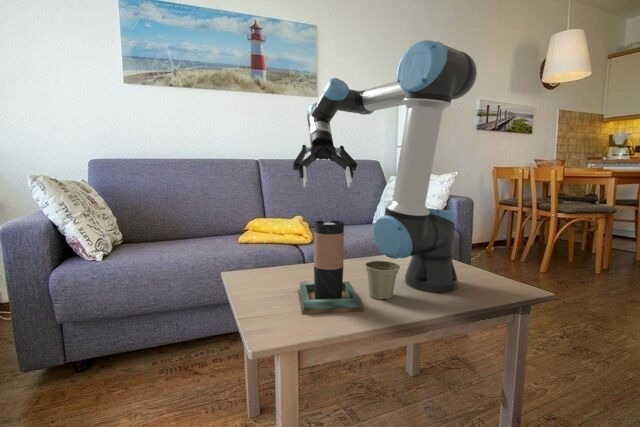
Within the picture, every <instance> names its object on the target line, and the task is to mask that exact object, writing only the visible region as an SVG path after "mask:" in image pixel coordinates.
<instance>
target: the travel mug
mask: <svg viewBox="0 0 640 427" xmlns="http://www.w3.org/2000/svg"><path fill="white" fill-rule="evenodd" d="M344 226H345V222H344V221H341V220H335V219H334V220H331V221H330V222H329V221H328V222H325V221H324V220H316V221H315V222H314V236H313V237H314V240H313V241H314V244H313V246H314V249H313V277H314V278H313V283H314V290H315V299H316V300H318V299H341V298H342V284H343V282H344V281H343V278H344V254H345V253H344V250H345V249H344V248H345V247H344V244H345V242H344V239H345V238H344V237H345V235H344V234H345V232H344V231H345V230H344V229H345V227H344Z"/></svg>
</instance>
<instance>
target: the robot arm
mask: <svg viewBox="0 0 640 427" xmlns="http://www.w3.org/2000/svg"><path fill="white" fill-rule="evenodd" d="M477 74H478V72H477V66H476V63H475V61H474V59H473V58H472V56H470V55H469V54H468V53H466V52H464V51H462V50H459V49H456V48H453V47H451V46H448V45H446V44H444V43H442V42H440V41H434V40H430V39H424V40H420V41H417V42H415V43H413V44H412V45H411V46H410V47H409V48H408V49H407V51H404V53H403V54H402V56H401V57H400V60H399V61H398V66H397V68H396V81H392V82H388V83H385V84H381V85H377V86H373V87H369V88H367V89H363V90H356V89H351V88H349V85H348V84H347V83H346V82H345V81H344V80H342V79H340V78H338V77H332V78H330V79H329V80H328V81H327V83H326V85H325V86H324V87H323V88H322V89H323V90H322V92H321V93H320V96H319V97H318V100H317V101H316V102H315V103H312V104H311V105H310V106H309V107H308V108H307V111H306V112H307V114H306V118H307V119H306V120H307V124H308V131H309V141H310V146H309V147H308V146H307V145H306V144H302V148H301V150H300V152H299V154H298V155H297V157H296V158H295V159H294V161H293V162H292V163H293V165H292V170H293V171H298V173H299V174H298V176H299V178H300V179H302V180H303V189H306V188H308V187H307V186H308V176H307V168H308V167H309V166H310V165H311V164H312V163H313V162H315V161H316V160H320V161H321V160H322V161H323V160H326V161H328V160H330V161H331V162H333V163H334V162H335V164H336V165H338V166H339V167H341V168H342V169H344V170H345V172H344V173H345V179H346V183H347V188H348V189H351V187H352V184H353V177H354V171H356V170H357V167H358V162H356V160H355V159H354V158H353V157H352V156H351V155H350V154H349V153H348V152H347V151H346V149H345V147H344V145H340V146H339V147H335V145H334V140H333V135H332V129H331V121H332V119H333V118H334V116H335V115H336V114H337V112H339V111H340V112H346V113H353V114H360V115H372V114H373V113H374V112H375V111H379V110H386V109H390V108H395V107H399V106H400V107H401V106H405V107H406V114H405V121H404V127H403V132H402V139H401V144H400V145H401V146H400V150H399V151H400V152H399V157H398V164H397V170H396V176H395V177H396V178H395V184H394V189H393V195H392V200H391V201H389V202H388V203H387V204H386V205H385V210H384V215H383V216H381V217H379V218H378V219H377V220H376V221H375V223H374V226H373V228H372V229H373V230H372V232H373V240H374V243H375V245H376V246H377V248H378V250H379V251H380V252H381V253H382V255H384V256H385V257H387V258H390V259H395V260H396V259H406V258H408V257H411V259H410V261H409V264H408V266H407V269H406V271H405V275H404V283H405V284H406V285H408V286H409V287H411V288H414V289H416V290H420V291H425V292H430V293H431V292H433V293H447V292H452V291H454V290H457V289H458V280H459V279H458V276H457V273H456V270H455V269H456V268H455V266H454V260H453V259H454V256H453V255H454V242H455V229H456V228H455V226H456V221H455V220H456V219H455V218H456V215H455V213H454V212H453V211H452V210H446V209H440V208H439V209H438V208H429V207H427V205H426V203H427V197H428V192H429V188H430V180H431V177H432V176H431V175H432V169H433V165H434V159H435V155H436V154H435V153H436V149H437V143H438V139H439V132H440V128H441V121H442V117H443V111H445V109H447V108H448V107H449V106H451V104H452V101H453V100H457V99H460V98H462V97H463V96H465V95H467V93H469V92H470V91H471V89H472V88H473V87H474V84H475V82H476V79H477ZM308 153H310V154H309V155H308V156H307V157H305V156H306V155H307V154H308ZM304 158H305V159H304Z"/></svg>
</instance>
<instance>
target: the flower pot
mask: <svg viewBox="0 0 640 427" xmlns="http://www.w3.org/2000/svg"><path fill="white" fill-rule="evenodd" d="M364 266H365V269H366V272H367V282H368V294H369V295H370V297H371V298H373V299H378V300H384V299H386V300H389V299H391V298H392V297H393V294H394V291H395V290H394V289H395V284H396V278H397V275H398V273H399V270H400V269H401V266H400V264H399V263H395V262H393V261H389V260H388V261H385V260H370V261H367V262H365V263H364Z"/></svg>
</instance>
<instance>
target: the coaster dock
mask: <svg viewBox="0 0 640 427" xmlns="http://www.w3.org/2000/svg"><path fill="white" fill-rule="evenodd" d="M297 293H298V300H299V305H300V306H299V307H300V311H301V314H302V315H304V314H305V315H306V314H328V313H329V314H330V313H350V312H364V307H363V305H362V300H361V298H360V296H359V295H358V293H357V292H356V290H355V289H354V287H353V285H352V284H351V282H350V281H343V284H342V298H341V299H318V300H316V299H315V290H314V282H300V283H299V288H297Z"/></svg>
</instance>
